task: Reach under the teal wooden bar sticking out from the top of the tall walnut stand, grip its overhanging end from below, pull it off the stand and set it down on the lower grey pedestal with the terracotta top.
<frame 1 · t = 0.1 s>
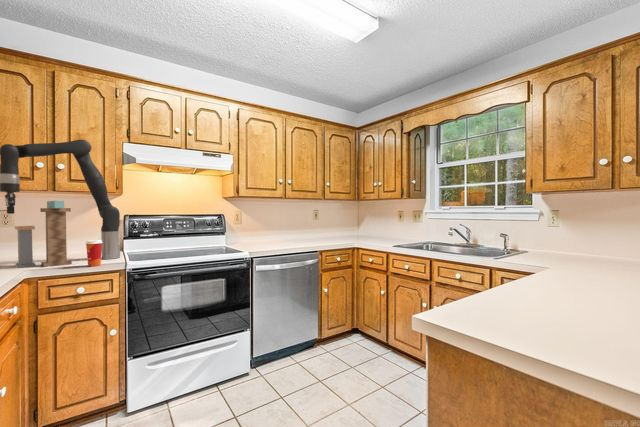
hand: (10, 213, 166), 29 cm above the counter, tool pointing down, fingers open, 8 cm apart
bar: (55, 208, 178), point 32 cm above the counter, touching stand
ledge: (25, 265, 175), on the counter
paper cup: (94, 266, 174), on the counter
stand: (56, 264, 178), on the counter
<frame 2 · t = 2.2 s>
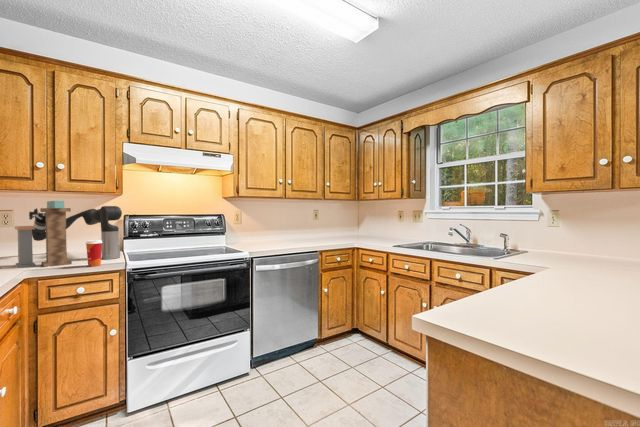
hand: (46, 209, 195), 31 cm above the counter, tool pointing upward, fingers open, 8 cm apart
nothing on the counter moved.
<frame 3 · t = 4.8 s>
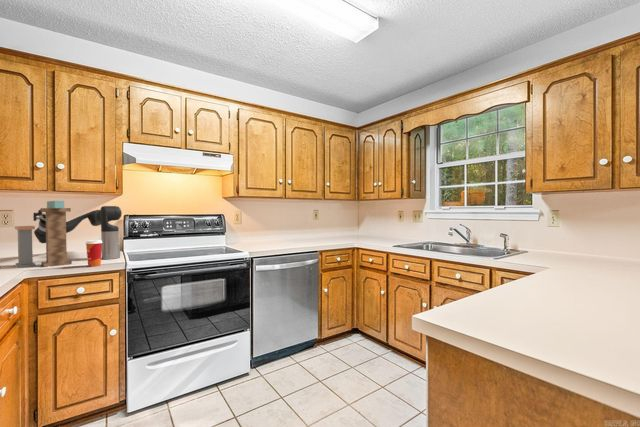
hand: (50, 210, 188), 31 cm above the counter, tool pointing upward, fingers open, 8 cm apart
nothing on the counter moved.
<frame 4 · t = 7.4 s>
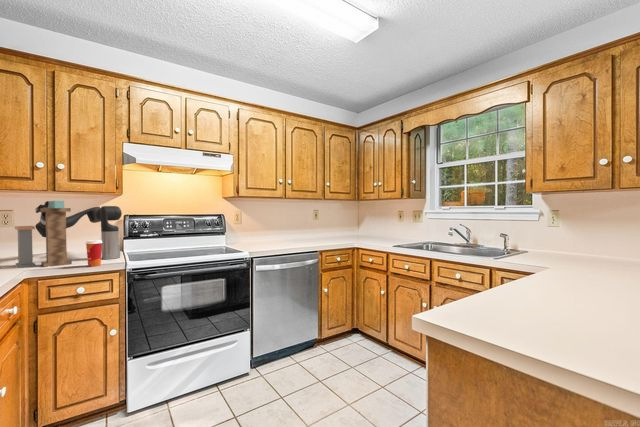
hand: (52, 202, 182), 35 cm above the counter, tool pointing upward, fingers closed on bar, 4 cm apart
bar: (55, 208, 178), point 32 cm above the counter, touching gripper, stand
everything else where it was.
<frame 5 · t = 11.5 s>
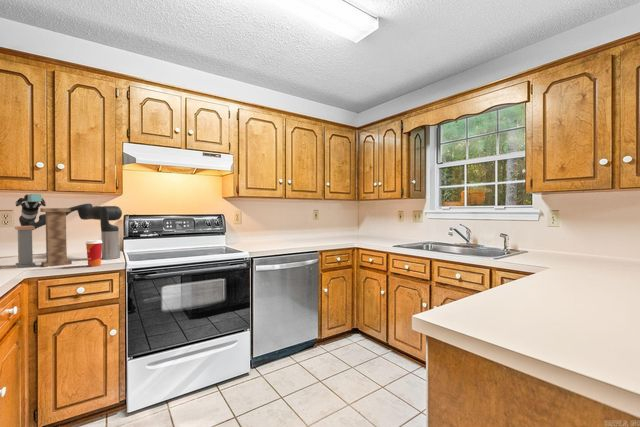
hand: (32, 195, 183), 39 cm above the counter, tool pointing upward, fingers closed on bar, 4 cm apart
bar: (33, 201, 179), point 36 cm above the counter, touching gripper
everything else where it was.
when the fingers open (26 cm above the counter, at t = 15.5 s): bar stays where it is, resting on ledge.
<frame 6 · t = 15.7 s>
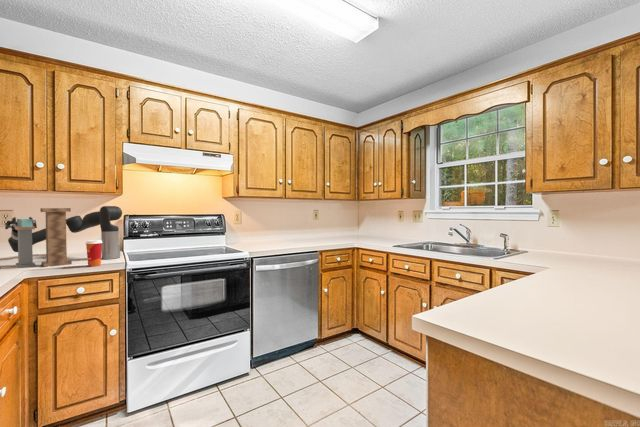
hand: (22, 218, 180), 26 cm above the counter, tool pointing upward, fingers open, 6 cm apart
bar: (24, 226, 176), point 22 cm above the counter, touching ledge
everything else where it was.
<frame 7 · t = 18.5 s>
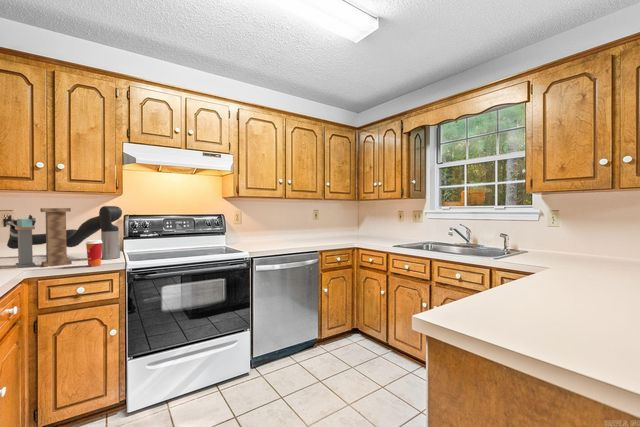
hand: (20, 216, 187), 27 cm above the counter, tool pointing upward, fingers open, 8 cm apart
nothing on the counter moved.
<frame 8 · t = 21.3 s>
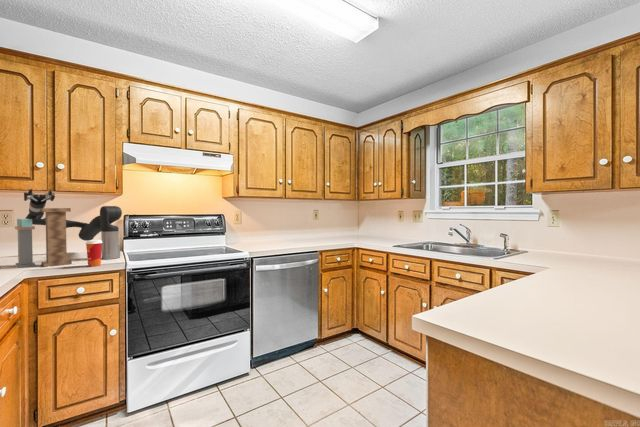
hand: (40, 190, 192), 43 cm above the counter, tool pointing upward, fingers open, 8 cm apart
nothing on the counter moved.
at the end: bar inside the target area on the ledge (0.6 cm from its centre), point 22.0 cm above the ledge's base; bar touching ledge; the gripper is holding nothing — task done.
